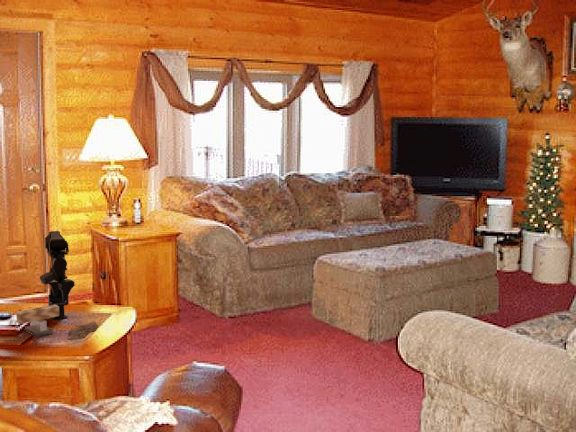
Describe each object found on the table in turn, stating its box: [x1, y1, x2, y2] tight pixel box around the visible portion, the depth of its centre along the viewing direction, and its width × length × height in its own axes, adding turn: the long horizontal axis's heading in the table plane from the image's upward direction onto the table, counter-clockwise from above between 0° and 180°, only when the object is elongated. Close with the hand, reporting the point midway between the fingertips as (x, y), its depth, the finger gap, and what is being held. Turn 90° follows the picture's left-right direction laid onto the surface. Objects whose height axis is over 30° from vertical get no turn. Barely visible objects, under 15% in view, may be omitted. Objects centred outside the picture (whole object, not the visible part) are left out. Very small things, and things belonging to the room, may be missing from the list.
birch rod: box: [16, 305, 59, 325], centre depth 320 cm, size 18×4×4 cm, turn 133°
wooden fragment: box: [67, 321, 100, 340], centre depth 324 cm, size 26×11×1 cm, turn 168°
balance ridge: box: [24, 319, 54, 338], centre depth 321 cm, size 12×8×6 cm, turn 43°
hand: (59, 298), depth 327 cm, fingers open, 9 cm apart
